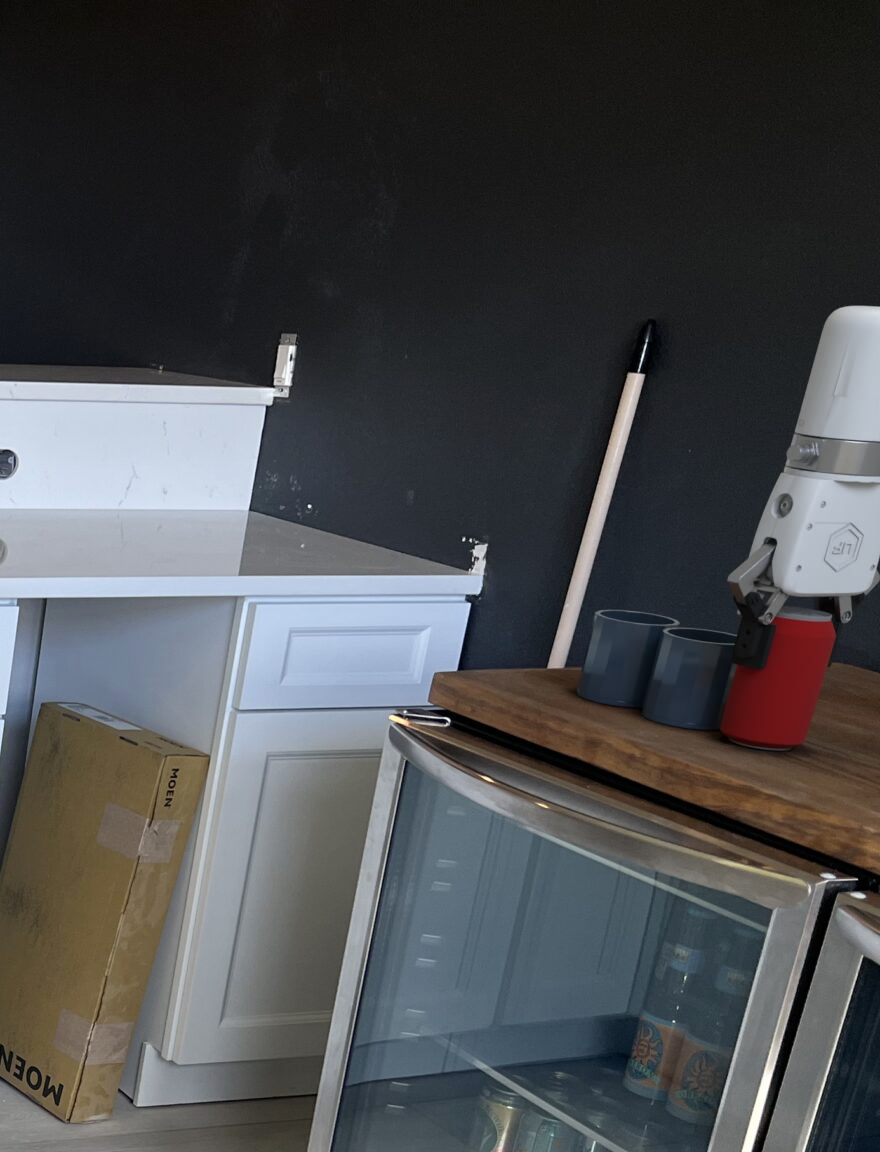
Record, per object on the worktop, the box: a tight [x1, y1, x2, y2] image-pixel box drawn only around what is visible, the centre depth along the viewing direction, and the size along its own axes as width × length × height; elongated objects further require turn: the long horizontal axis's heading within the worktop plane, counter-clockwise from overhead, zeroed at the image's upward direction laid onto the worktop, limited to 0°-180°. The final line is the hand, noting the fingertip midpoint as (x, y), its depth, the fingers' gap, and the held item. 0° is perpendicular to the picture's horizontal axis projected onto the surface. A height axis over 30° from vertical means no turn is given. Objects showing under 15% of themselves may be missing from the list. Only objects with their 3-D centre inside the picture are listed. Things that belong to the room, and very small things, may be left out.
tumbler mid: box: [641, 627, 737, 731], centre depth 175 cm, size 7×7×8 cm
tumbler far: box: [576, 609, 681, 709], centre depth 182 cm, size 7×7×8 cm
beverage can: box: [719, 605, 836, 752], centre depth 167 cm, size 7×7×12 cm
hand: (780, 663), depth 167 cm, fingers closed on beverage can, 6 cm apart
